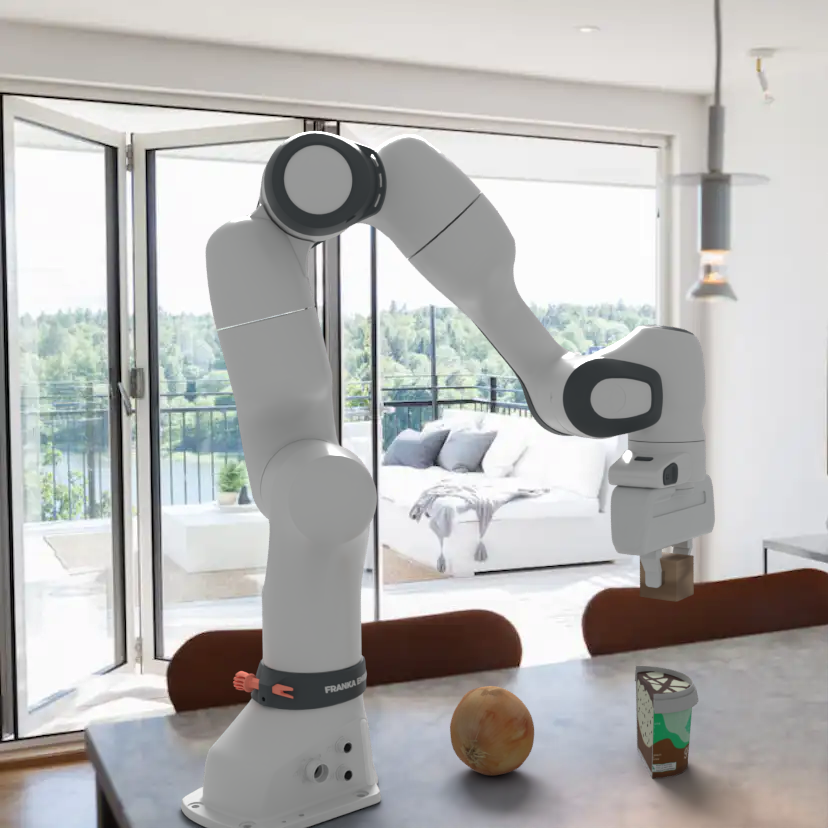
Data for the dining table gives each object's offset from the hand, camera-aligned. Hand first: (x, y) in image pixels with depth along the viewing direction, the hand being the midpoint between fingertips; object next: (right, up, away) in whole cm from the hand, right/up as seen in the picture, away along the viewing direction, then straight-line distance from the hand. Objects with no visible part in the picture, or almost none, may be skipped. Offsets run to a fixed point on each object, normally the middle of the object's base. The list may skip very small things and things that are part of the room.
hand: (666, 581), depth 129 cm
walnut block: (0, -2, 0) cm, 2 cm away
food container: (0, -22, 0) cm, 22 cm away
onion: (-21, -22, -2) cm, 30 cm away
